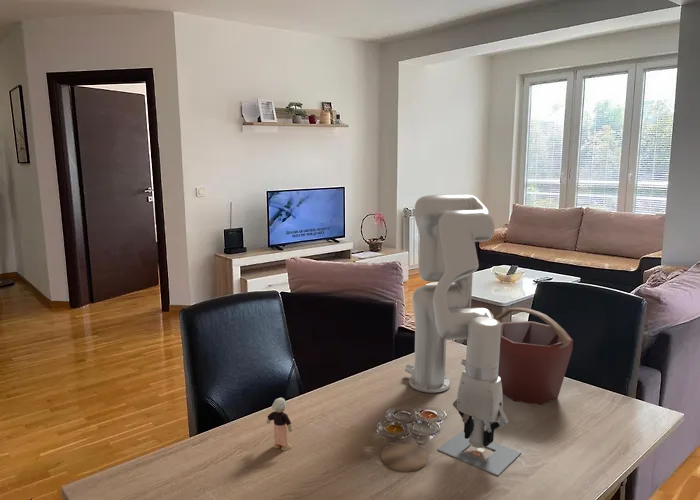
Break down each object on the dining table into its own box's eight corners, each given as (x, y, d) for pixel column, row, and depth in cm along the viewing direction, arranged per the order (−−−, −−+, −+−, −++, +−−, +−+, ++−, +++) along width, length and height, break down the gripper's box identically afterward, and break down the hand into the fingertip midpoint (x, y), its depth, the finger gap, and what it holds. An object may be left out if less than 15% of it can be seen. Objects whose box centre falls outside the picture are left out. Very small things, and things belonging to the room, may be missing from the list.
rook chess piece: (487, 449, 128) (489, 418, 126) (468, 447, 129) (470, 417, 127) (487, 439, 132) (488, 409, 130) (468, 437, 133) (470, 407, 131)
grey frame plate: (437, 450, 131) (437, 449, 131) (462, 431, 140) (462, 430, 140) (497, 476, 120) (498, 475, 120) (521, 453, 129) (521, 452, 129)
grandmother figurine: (297, 444, 133) (296, 397, 131) (291, 453, 130) (290, 404, 127) (270, 439, 136) (268, 392, 133) (262, 447, 132) (261, 399, 130)
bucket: (474, 380, 170) (477, 304, 166) (532, 370, 178) (536, 297, 173) (524, 415, 148) (529, 328, 143) (587, 402, 155) (594, 319, 150)
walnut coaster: (371, 459, 127) (371, 457, 127) (399, 440, 135) (399, 438, 135) (409, 477, 120) (409, 475, 120) (436, 456, 128) (436, 454, 128)
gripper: (442, 364, 129) (440, 434, 133) (508, 386, 118) (503, 460, 122) (458, 355, 134) (455, 422, 138) (523, 375, 124) (518, 446, 127)
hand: (478, 439), depth 130 cm, fingers closed on rook chess piece, 4 cm apart
